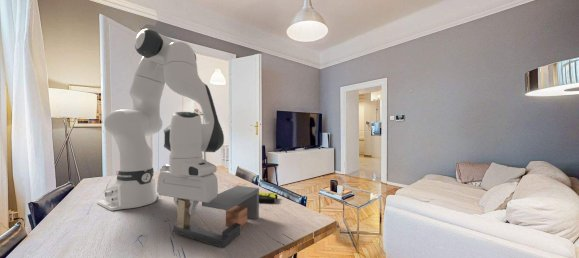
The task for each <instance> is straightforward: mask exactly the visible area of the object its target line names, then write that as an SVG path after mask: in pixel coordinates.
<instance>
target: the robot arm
mask: <svg viewBox="0 0 579 258" xmlns="http://www.w3.org/2000/svg"><path fill="white" fill-rule="evenodd" d="M134 47H135V50H136V52H137V54H139V55H141V56H142V57H141V58H140V60H139V62H138V65H137V66H136V70H135V72H134V75H133V78H132V80H131V81H132V82H131V85H130V88H129V91H128V92H129V96H130V97H131V99H132V106H133V107H132V109H130V108H129V109H128V108H126V109H125V108H124V109H123V108H122V109H117V110H112V111H110V112H109V113H108V114H107V115H106V117H105V118H104V127H105V129H106V131H107V132H108V133H109V134H111V135H112V137H113V138H114V140H115V142H116V145H117V148H118V151H119V170H117V172H116V176H117V177H116V180H115V181H113V183H111V184H110V185H109V186H108V187H107V188H106V190H105V191H104V198H102V199H99V200H98V201H97V204H98V205H99V206H101V207H103V208H105V209H107V210H109V211H117V210H118V211H119V210H123V209H124V210H125V209H134V208H140V207H143V206H147V205H150V204H153V203H155V202H156V201H157V198H158V197H159V196H163V197H169V198H173V203H174V204H175V206H176V213H178V201H179V199H187V200H190V203H191V205H190V208H187V214H190V216H192V215H195V214H196V207H197V206H198V203H202V202H206V203H208V202H211V201H213V200H215V199H216V197H217V195H218V194H219V191H218V189H219V188H218V187H219V185H218V177H217V175H216V174H215V173H216V172H217V171H218V170H217V165H216V164H213V163H211V162H209V161H207V160H206V159H203V152H204V153H215V152H217V151H219V150H220V149H221V148H222V147H223V145H224V142H225V136H224V131H223V127H222V126H221V122H220V120H219V118H218V114H217V110H216V107H215V103H214V99H213V97H212V94H211V91H210V87H209V86H208V84H206V83H204V82H203V81H202V79H201V78H200V75H199V72H198V65H197V55H196V53H195V52H194V49H193V48H192V46H190V45H189V44H188V43H186V42H184V41H177V40H176V39H173V38H170V37H168V36H166V35H164V34H162V33H159V32H158V31H156V30H154V29H149V28H143V29H141V30H140V31H139V32H138V33H137V35H136V36H135V39H134ZM165 84H166V86H167V87H169V89H170V90H171V91H173V92H174V93H176V94H178V95H180V96H183V97H185V98H188V99H190V100H192V101H195V102H196V103H197V104H198V105H199V106H200V108H201V112H202V114H203V118H204V123H202V118H201V115H200V114H198V113H197V112H192V111H191V112H190V111H176V112H174V113H172V115H171V121H170V124H169V125H168V126H167V127H166V128H164V129H163V134H164V140H163V141H164V143H163V148H165V149H166V150H168V151H169V152H170V153H169V157H168V160H169V163H168V164H163V166H161V167H160V169H159V173H158V177H157V186H156V180H155V179H154V174H155V172H154V167H153V149H152V148H151V147H150V146H149V145H148V144H149V143H148V142H147V138H146V137H150V136H153V135H155V134H156V133H159V132H160V131H161V130H162V127H163V120H162V118H161V114H160V111H161V108H160V106H161V105H160V104H161V99H162V95H163V91H164V88H165Z"/></svg>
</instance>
